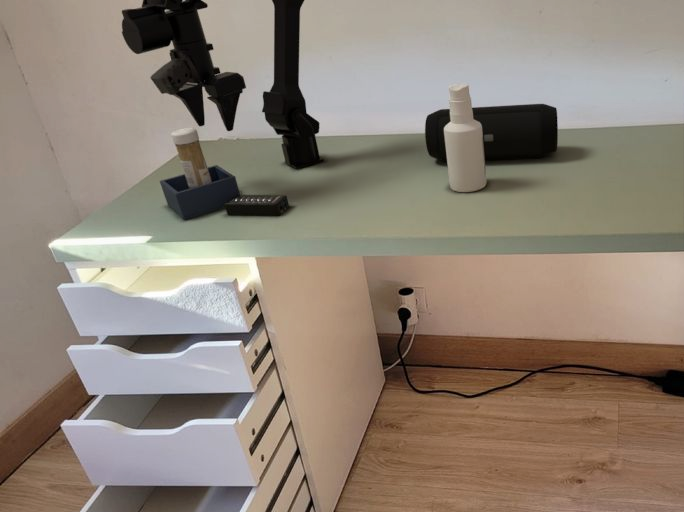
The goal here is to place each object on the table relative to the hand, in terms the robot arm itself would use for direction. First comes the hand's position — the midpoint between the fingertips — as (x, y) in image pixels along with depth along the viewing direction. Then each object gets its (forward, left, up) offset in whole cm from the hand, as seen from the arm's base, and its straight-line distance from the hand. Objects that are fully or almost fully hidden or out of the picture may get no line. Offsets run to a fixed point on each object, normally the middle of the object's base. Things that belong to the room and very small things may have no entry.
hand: (215, 128), depth 135 cm
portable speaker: (-46, +26, -13) cm, 54 cm away
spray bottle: (-33, +35, -13) cm, 50 cm away
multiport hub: (0, +14, -13) cm, 19 cm away
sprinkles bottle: (+6, +2, -12) cm, 14 cm away
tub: (+7, +2, -13) cm, 14 cm away
